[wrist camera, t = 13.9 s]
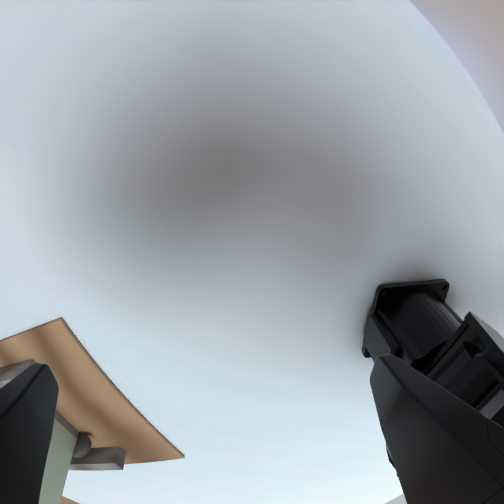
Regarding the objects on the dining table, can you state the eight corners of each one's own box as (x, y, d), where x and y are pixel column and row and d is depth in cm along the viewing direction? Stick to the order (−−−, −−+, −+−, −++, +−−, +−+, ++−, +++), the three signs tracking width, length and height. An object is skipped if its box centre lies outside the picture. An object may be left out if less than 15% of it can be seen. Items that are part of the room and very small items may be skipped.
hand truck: (49, 391, 23) (5, 508, 11) (94, 435, 26) (70, 543, 14) (15, 396, 24) (-27, 496, 12) (58, 437, 27) (31, 532, 15)
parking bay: (61, 317, 20) (48, 339, 18) (184, 455, 29) (183, 475, 26) (-52, 360, 22) (-62, 374, 20) (51, 462, 30) (46, 477, 28)
